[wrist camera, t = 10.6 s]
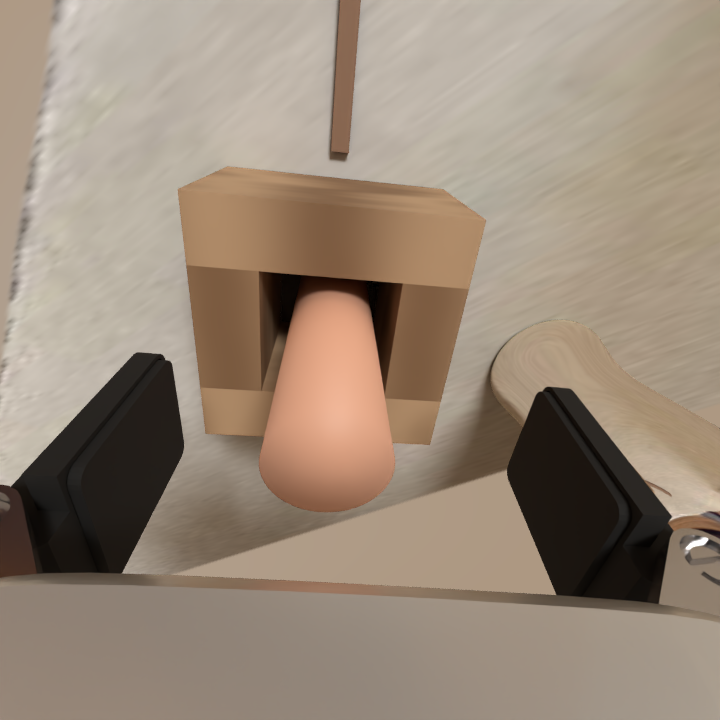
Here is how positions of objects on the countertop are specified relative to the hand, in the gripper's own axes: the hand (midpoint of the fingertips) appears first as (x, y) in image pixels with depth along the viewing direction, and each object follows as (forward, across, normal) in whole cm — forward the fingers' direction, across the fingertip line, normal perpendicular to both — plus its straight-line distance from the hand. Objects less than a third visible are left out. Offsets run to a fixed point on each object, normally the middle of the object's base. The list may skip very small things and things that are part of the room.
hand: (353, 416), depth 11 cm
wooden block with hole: (+10, +1, 0) cm, 10 cm away
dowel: (+10, +1, 0) cm, 10 cm away
